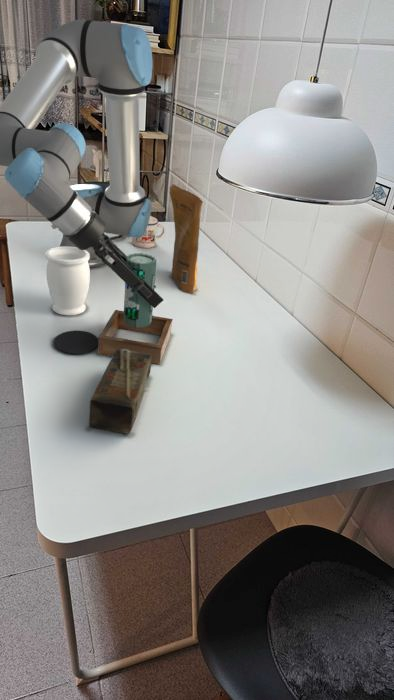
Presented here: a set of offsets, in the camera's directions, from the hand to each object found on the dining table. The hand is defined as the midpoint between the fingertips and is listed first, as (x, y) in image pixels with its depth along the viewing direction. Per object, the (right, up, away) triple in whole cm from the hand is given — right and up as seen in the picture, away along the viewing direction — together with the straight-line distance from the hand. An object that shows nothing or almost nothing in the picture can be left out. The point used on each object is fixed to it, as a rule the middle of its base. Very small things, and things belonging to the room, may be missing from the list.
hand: (154, 296), depth 106 cm
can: (-4, -5, +2) cm, 7 cm away
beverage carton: (-5, -22, -14) cm, 27 cm away
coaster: (-18, -10, +2) cm, 21 cm away
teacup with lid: (-9, +27, +67) cm, 72 cm away
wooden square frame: (-5, -11, +5) cm, 13 cm away
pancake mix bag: (+4, +8, +39) cm, 40 cm away
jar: (-24, -1, +16) cm, 29 cm away
